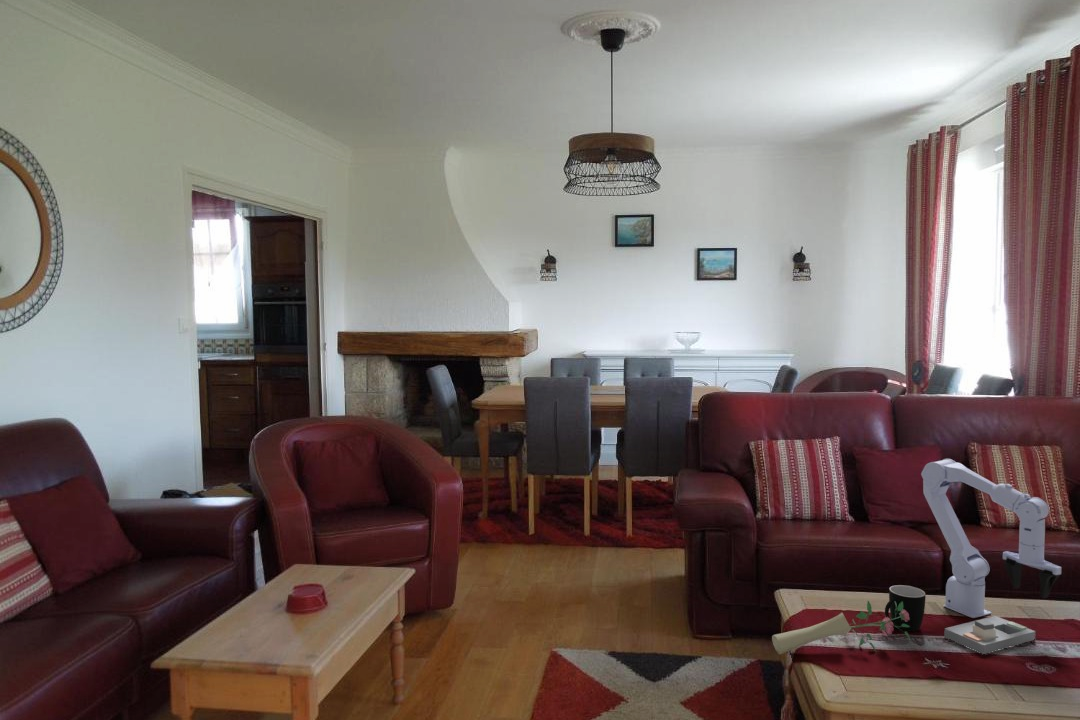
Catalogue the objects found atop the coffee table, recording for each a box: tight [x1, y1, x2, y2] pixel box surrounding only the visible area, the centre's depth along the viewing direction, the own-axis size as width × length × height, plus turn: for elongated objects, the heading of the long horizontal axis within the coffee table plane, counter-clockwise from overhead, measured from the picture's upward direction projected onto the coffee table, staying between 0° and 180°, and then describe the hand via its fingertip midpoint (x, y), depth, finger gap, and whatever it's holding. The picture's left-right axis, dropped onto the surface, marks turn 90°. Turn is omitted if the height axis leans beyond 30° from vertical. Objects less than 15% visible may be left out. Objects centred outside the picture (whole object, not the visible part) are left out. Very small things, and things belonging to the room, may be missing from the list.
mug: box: [884, 584, 926, 632], centre depth 202 cm, size 12×9×10 cm
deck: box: [943, 615, 1036, 655], centre depth 195 cm, size 11×20×3 cm, turn 113°
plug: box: [973, 619, 996, 641], centre depth 191 cm, size 4×4×6 cm
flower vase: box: [771, 600, 911, 655], centre depth 189 cm, size 12×12×35 cm
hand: (1030, 592), depth 200 cm, fingers open, 7 cm apart
